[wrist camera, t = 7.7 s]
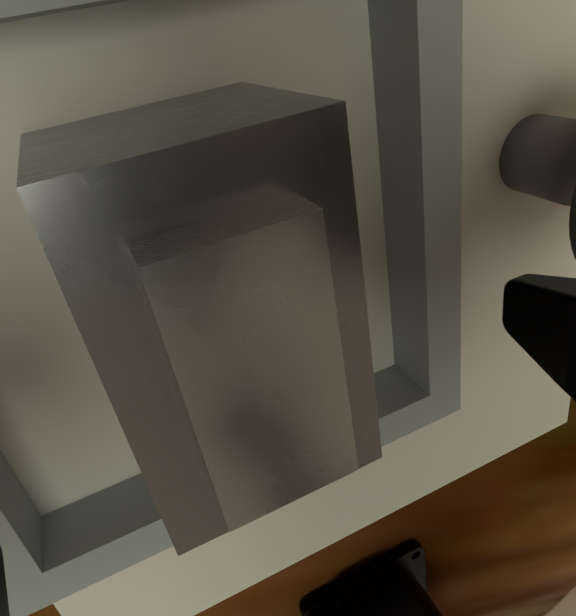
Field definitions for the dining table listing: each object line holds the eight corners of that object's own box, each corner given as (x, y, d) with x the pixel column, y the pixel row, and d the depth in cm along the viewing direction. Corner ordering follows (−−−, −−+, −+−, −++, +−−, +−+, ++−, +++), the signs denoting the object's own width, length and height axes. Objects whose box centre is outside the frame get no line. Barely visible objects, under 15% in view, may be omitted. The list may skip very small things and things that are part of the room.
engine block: (294, 354, 17) (407, 486, 12) (137, 417, 15) (190, 597, 10) (241, 81, 12) (379, 107, 8) (21, 133, 11) (14, 207, 6)
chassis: (546, 407, 26) (605, 448, 23) (87, 637, 20) (96, 729, 17) (647, -483, 12) (818, -628, 9) (-750, -629, 6) (-1348, -1146, 3)
